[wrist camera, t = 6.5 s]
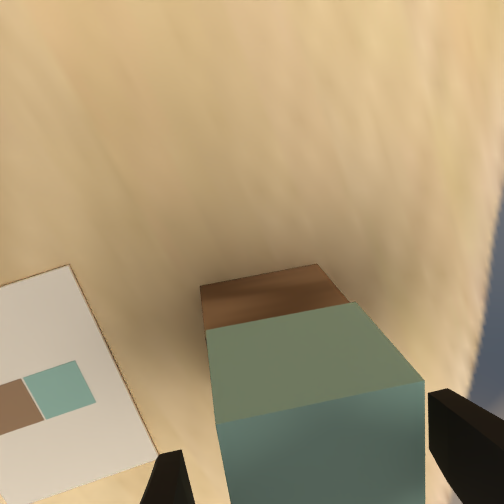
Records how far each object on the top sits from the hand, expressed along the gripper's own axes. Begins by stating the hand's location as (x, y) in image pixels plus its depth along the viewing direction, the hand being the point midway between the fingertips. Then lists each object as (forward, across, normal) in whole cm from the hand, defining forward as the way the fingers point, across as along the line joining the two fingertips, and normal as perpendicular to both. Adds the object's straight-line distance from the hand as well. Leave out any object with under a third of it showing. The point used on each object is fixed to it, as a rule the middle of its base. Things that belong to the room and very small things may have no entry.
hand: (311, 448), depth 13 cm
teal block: (+3, 0, 0) cm, 3 cm away
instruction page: (+7, +10, +1) cm, 12 cm away
